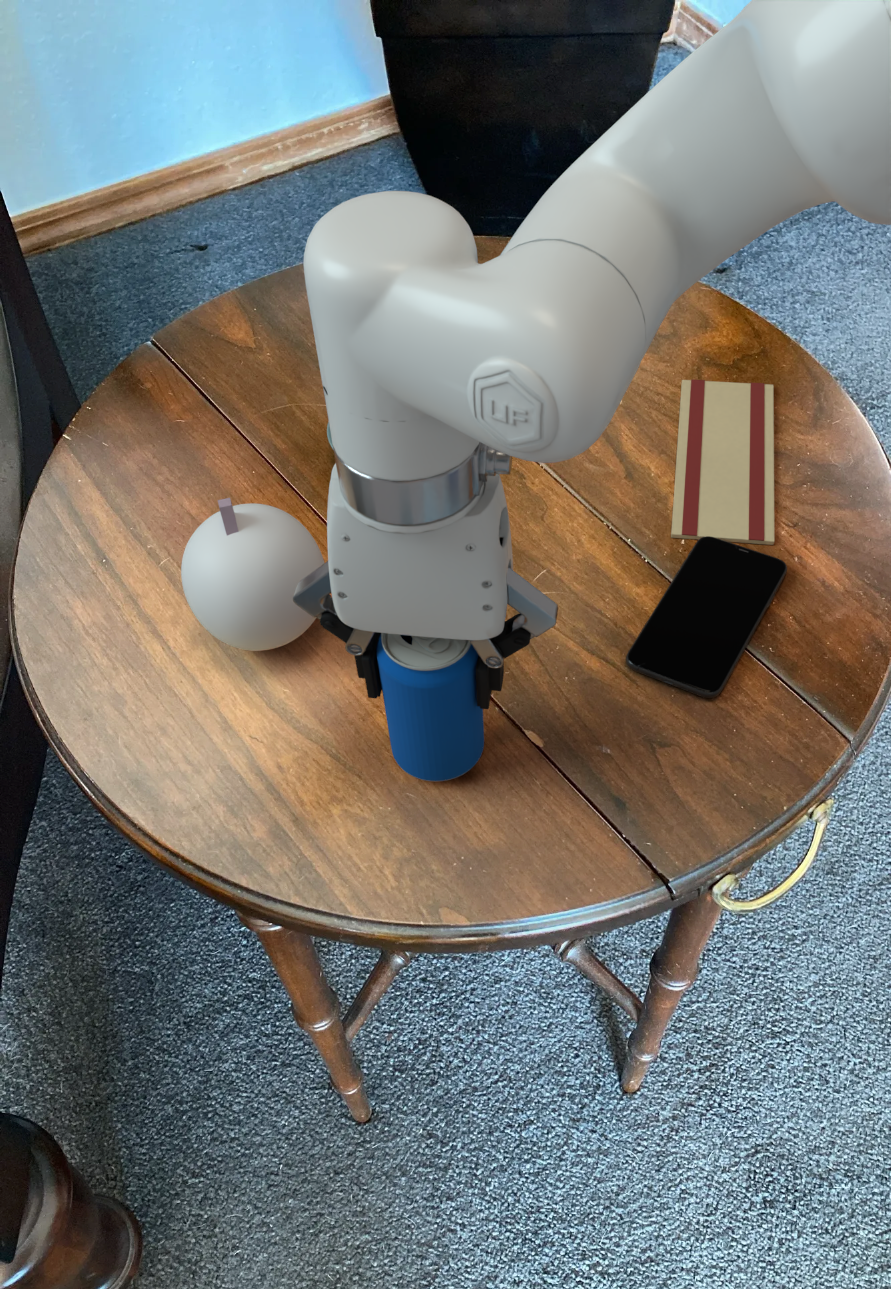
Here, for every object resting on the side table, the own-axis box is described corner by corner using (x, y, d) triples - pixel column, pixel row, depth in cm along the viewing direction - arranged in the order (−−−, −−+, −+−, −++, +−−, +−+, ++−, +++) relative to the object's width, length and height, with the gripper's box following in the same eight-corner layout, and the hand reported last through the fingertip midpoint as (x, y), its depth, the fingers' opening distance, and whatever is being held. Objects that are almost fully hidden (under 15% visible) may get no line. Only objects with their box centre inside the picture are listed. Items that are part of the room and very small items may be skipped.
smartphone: (715, 705, 76) (790, 569, 83) (717, 697, 76) (792, 561, 82) (619, 668, 79) (700, 539, 85) (620, 660, 78) (701, 531, 85)
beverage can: (439, 698, 78) (428, 579, 68) (503, 748, 75) (502, 631, 65) (373, 751, 76) (352, 635, 66) (437, 804, 73) (425, 691, 63)
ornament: (177, 620, 84) (132, 499, 74) (288, 559, 87) (259, 435, 77) (246, 699, 79) (207, 581, 69) (360, 632, 82) (339, 510, 72)
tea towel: (772, 388, 96) (773, 383, 95) (773, 545, 85) (774, 540, 84) (681, 383, 97) (682, 378, 96) (670, 537, 86) (671, 533, 86)
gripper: (587, 425, 56) (571, 655, 71) (265, 406, 58) (315, 632, 73) (573, 525, 52) (559, 746, 67) (227, 500, 54) (289, 719, 69)
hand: (431, 685), depth 70 cm, fingers closed on beverage can, 6 cm apart
